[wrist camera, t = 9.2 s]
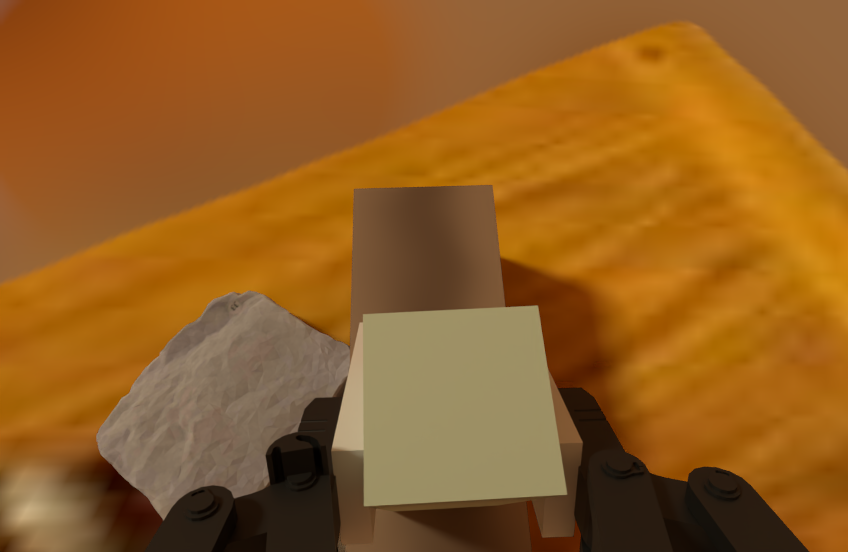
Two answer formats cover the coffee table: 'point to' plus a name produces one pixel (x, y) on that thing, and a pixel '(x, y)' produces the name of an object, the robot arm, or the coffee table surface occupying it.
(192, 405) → the stone block
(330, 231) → the coffee table surface
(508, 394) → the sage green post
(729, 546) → the robot arm
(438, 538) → the walnut beam
